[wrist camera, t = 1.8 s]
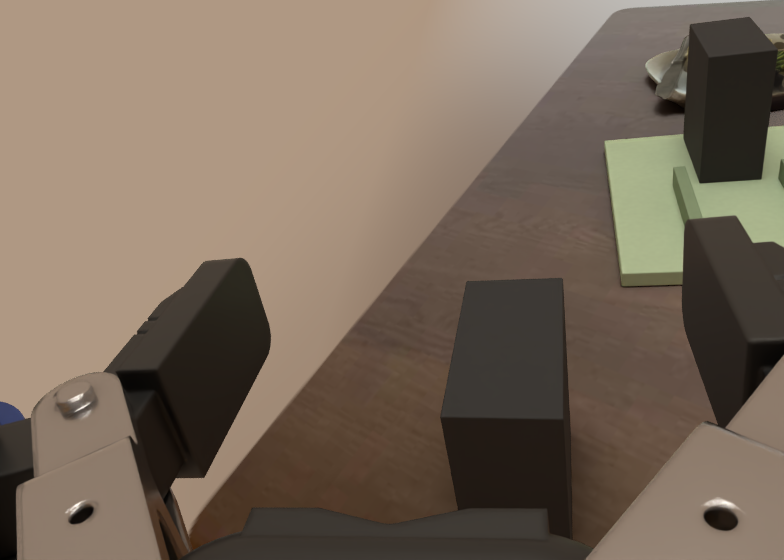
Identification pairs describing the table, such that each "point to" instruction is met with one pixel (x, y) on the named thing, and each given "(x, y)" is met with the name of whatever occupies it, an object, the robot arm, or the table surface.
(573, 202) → the table surface
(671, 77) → the salad plate
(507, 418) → the tall dark upright box
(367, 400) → the table surface
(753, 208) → the dock mat
